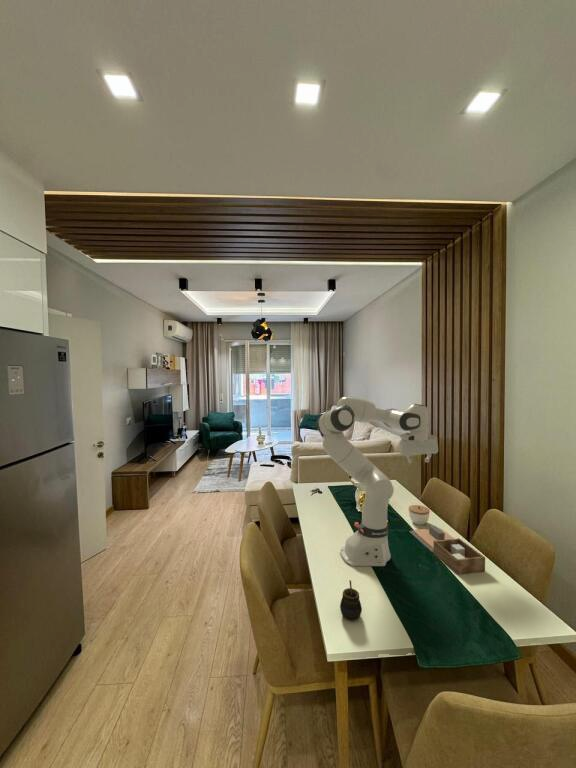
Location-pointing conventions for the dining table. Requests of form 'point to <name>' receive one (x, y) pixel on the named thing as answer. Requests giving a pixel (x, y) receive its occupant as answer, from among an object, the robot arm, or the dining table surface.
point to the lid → (432, 535)
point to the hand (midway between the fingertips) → (418, 462)
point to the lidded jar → (419, 514)
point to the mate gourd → (350, 604)
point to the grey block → (457, 549)
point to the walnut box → (459, 566)
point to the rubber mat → (423, 541)
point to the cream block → (458, 556)
